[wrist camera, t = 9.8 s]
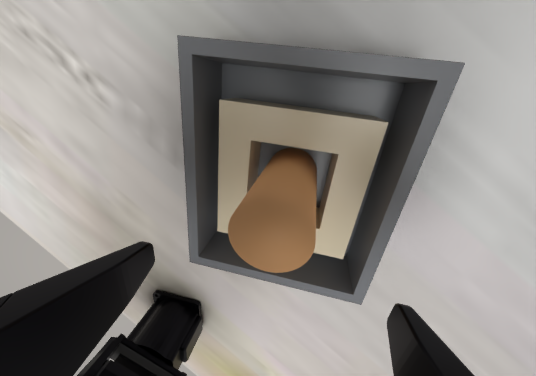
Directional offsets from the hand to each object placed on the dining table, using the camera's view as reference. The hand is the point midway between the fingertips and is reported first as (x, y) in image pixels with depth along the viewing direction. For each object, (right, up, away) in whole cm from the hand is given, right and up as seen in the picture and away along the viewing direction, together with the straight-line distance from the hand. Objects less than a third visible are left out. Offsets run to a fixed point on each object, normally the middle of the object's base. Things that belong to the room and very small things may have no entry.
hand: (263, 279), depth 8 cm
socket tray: (+2, +5, +11) cm, 12 cm away
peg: (+2, +5, +10) cm, 11 cm away
